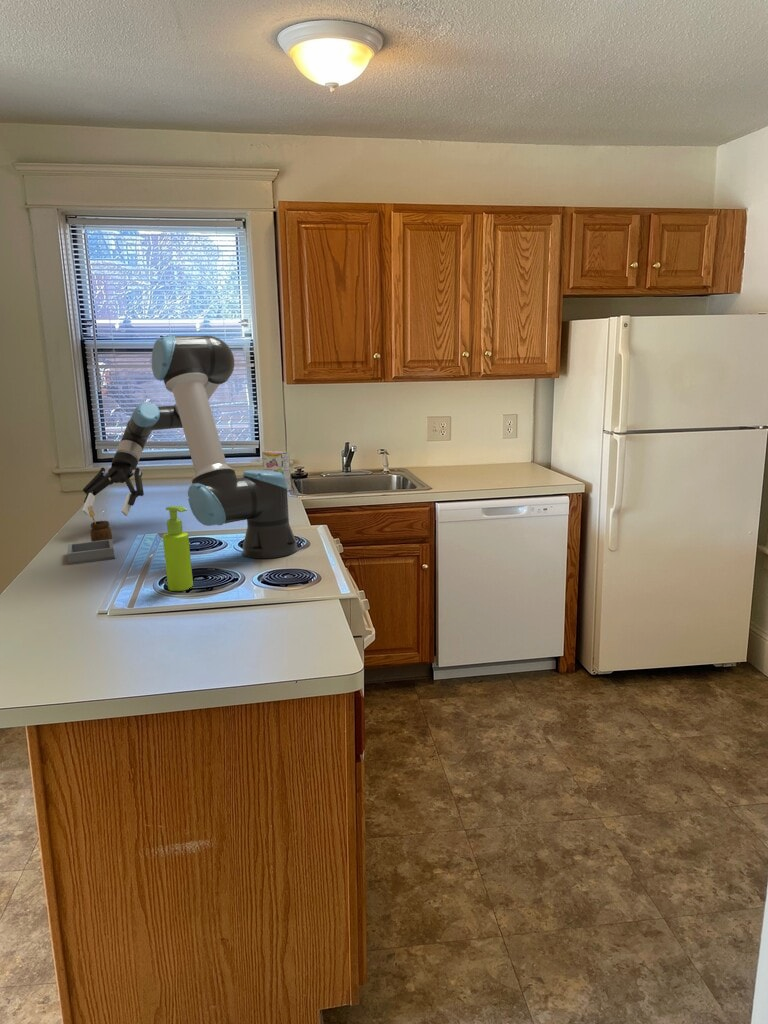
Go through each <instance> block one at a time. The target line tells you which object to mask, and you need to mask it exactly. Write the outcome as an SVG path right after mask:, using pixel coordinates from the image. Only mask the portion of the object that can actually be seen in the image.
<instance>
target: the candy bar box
mask: <svg viewBox="0 0 768 1024" xmlns="http://www.w3.org/2000/svg"><path fill="white" fill-rule="evenodd" d="M261 455H262V457H261V458H262V469H263V470H262V471H274V472H280V473H282V474H284V475H285V477H286V483H287V488H288V489H287V492H290V491H292V479H291V478H292V477H291V476H292V475H291V464H290V461H291V459H290V451H289V452H288V451H280V450H279V451H277V450H265V451H262V452H261Z"/></svg>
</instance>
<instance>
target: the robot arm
mask: <svg viewBox="0 0 768 1024" xmlns="http://www.w3.org/2000/svg"><path fill="white" fill-rule="evenodd" d="M151 369H152V374H153V377H154V378H155V379H156V380H157V381H160V382H162V381H163V383H164V386H165V389H166V390H167V391H169V392H170V393H172V394H173V397H174V401H175V404H174V405H163V406H162V405H161V406H160V405H159V406H157V405H156V404H155V403H154V402H150V401H143V402H139V404H138V405H137V406H136V407H135V409H134V410H133V411H132V415H131V416H130V418H129V420H128V421H127V423H126V427H125V429H124V432H123V433H122V437H121V438H120V439H121V440H120V441H119V443H118V446H117V448H116V450H115V453H114V456H113V458H112V461H111V467H110V468H109V469H106V468H104V467H101V468H100V469H99V472H98V473H97V474H96V475H95V476H94V477H93V478H92V479H91V480H90V481H89V482H88V484H86V485H85V486H84V487H83V488H82V491H83V492H84V494H85V498H84V500H83V502H84V504H83V507H82V508H81V511H82V512H83V514H85V515H86V516H90V514H89V510H90V508H91V506H92V507H93V506H94V503H95V501H96V496H97V495H98V494H99V493H100V492H101V491H103V490H104V489H106V488H107V487H109V486H110V485H113V484H114V483H115V484H118V483H120V484H124V483H125V484H126V487H127V488H128V490H129V493H127V495H126V497H125V500H124V502H123V505H122V508H121V510H120V512H121V513H122V514H123V515H124V516H125V517H128V516H129V513H130V511H131V508H132V506H134V505H135V502H136V499H137V498H138V497H143V496H144V495H145V493H144V486H143V480H142V476H143V471H142V470H141V469H140V468H139V467H138V463H139V461H140V458H141V456H142V453H143V451H144V449H145V446H146V443H147V441H148V439H149V437H150V435H151V433H152V432H153V431H160V430H161V431H162V430H172V429H182V430H183V433H184V437H185V441H186V444H187V447H188V452H189V455H190V457H191V462H192V465H193V466H192V467H193V469H194V472H195V474H194V476H193V477H192V479H191V483H192V484H191V485H189V488H188V489H187V496H188V498H187V499H188V505H189V508H190V510H191V512H192V515H193V516H194V518H195V519H196V520H197V521H198V523H200V524H202V525H203V526H207V527H210V526H211V527H212V526H222V525H224V524H229V523H230V524H231V523H234V522H240V521H246V522H247V528H246V531H245V536H244V539H243V543H242V553H243V555H244V556H246V557H248V558H254V559H272V558H273V559H274V558H281V557H286V556H289V555H293V554H294V553H295V552H297V551H298V545H297V540H296V538H295V534H294V533H293V530H292V528H291V525H290V519H289V517H290V516H289V500H288V491H287V489H288V488H287V483H286V477H285V475H284V474H282V473H280V472H274V471H263V470H260V469H259V470H258V469H256V470H255V469H253V470H250V469H249V470H245V471H243V473H242V476H243V477H237V475H236V471H235V469H234V468H232V467H231V466H228V464H227V460H226V458H225V457H226V456H225V453H224V450H223V446H222V444H221V438H220V436H219V432H218V430H217V429H218V428H217V424H216V422H215V419H214V416H213V411H212V409H211V404H210V401H209V400H210V399H211V397H212V396H213V394H214V393H215V391H216V390H217V389H218V388H219V386H220V385H222V384H225V383H226V382H227V381H228V380H229V379H230V377H232V374H233V372H234V369H235V356H234V353H233V351H232V349H231V348H230V346H229V345H228V344H227V343H226V342H225V341H223V340H222V339H220V338H218V337H216V336H212V335H179V336H178V335H168V336H160V337H159V338H157V339H156V340H155V342H154V344H153V346H152V351H151ZM133 476H134V477H133ZM131 477H133V478H134V481H135V482H134V483H135V487H136V488H135V487H134V485H133V483H132V481H131V479H130V478H131ZM89 506H90V508H89V510H88V507H89Z"/></svg>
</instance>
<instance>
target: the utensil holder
mask: <svg viewBox="0 0 768 1024" xmlns="http://www.w3.org/2000/svg"><path fill="white" fill-rule="evenodd" d="M89 508H90V506H89V507H88V510H89ZM104 512H105V510H104V509H102V510H100V511H99V513H98V514H99V519H98V521H96V519H95V512H94V510H93V506H91V508H90V510H89V516H90V517H92V520H93V522H91V523H90V528H91V529H90V542H91V541H100V540H108V539H112V540H113V533H112V529H111V527H110V522H109V521H108V520H107V517H105V518H104V516H105V514H104ZM101 513H102V518H104V520H101V519H102V518H101Z"/></svg>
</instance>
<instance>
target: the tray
mask: <svg viewBox="0 0 768 1024" xmlns="http://www.w3.org/2000/svg"><path fill="white" fill-rule="evenodd" d="M113 542H114V540H113V538H112V539H108V540H100V541H91V540H90V541H83V542H75V543H68V544H67V553H66V554H67V561H68V562H67V563H68V565H73V564H74V565H75V564H82V563H89V562H90V563H91V562H97V561H98V562H100V561H104V560H105V561H106V560H115V558H116V557H115V548H114V543H113Z"/></svg>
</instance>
